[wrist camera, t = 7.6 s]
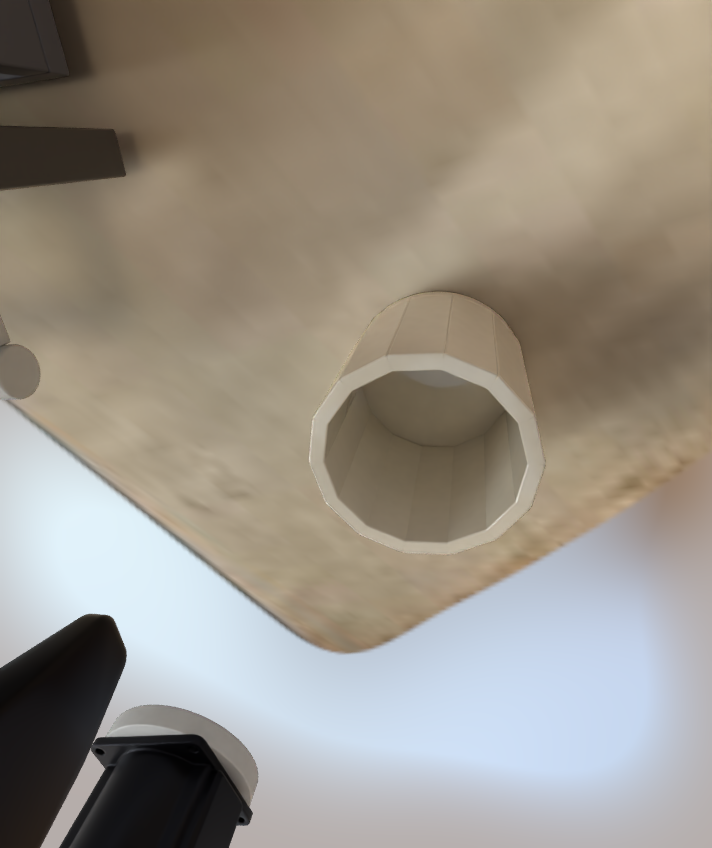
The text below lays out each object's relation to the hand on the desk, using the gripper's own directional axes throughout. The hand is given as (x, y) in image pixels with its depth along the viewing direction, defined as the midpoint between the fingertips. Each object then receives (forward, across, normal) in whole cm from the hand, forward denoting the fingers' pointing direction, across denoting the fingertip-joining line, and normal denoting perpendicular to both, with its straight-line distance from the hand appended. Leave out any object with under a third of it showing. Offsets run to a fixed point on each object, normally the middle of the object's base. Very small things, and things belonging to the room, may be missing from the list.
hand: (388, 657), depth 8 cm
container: (+11, 0, 0) cm, 11 cm away
